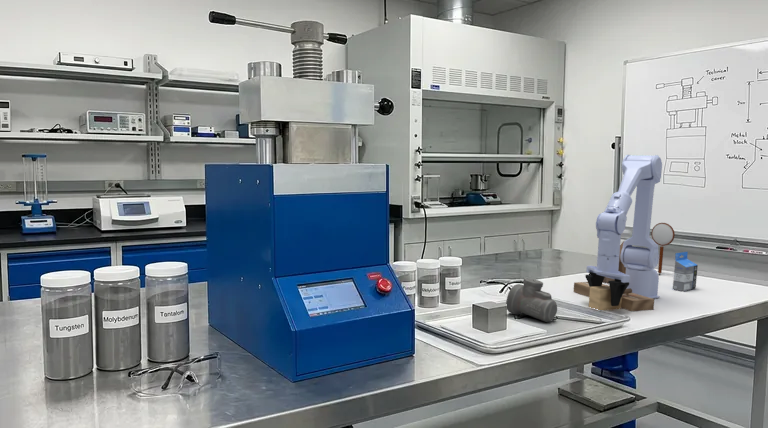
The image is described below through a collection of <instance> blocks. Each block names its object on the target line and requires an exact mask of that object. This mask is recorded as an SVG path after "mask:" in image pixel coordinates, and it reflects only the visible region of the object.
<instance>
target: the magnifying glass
mask: <svg viewBox="0 0 768 428" xmlns="http://www.w3.org/2000/svg"><path fill="white" fill-rule="evenodd" d="M650 234H651V237H652V238H651V239H652V240H653V241H654V242H655V243H657V245H658V246H659V261H658V267H657V268H658V270H657V273H658V275H659V274H662V271H663V269H662V268H663V262H664V261H663V259H664V246H665V247H666V246H668V245H670V244H671V243H673V241H674V239H675V235H676V234H675V230H674V228H673V227H672V226H671V225H670V224H669V223H667V222H659V223H657V224H655V225H654V226H653V227H652V230H651V232H650Z"/></svg>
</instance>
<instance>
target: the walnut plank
mask: <svg viewBox="0 0 768 428" xmlns="http://www.w3.org/2000/svg"><path fill="white" fill-rule="evenodd" d="M602 286H609V284H606V283H602ZM573 292H574V293H575V294H579V295H581V296H584V297H588V298H589V295H590V286H589V283H588V281H581V282H580V281H579V282H577V281H575V282H574V283H573ZM654 308H655V298H649V297H645V296H642V295H639V294H635V293H629V295H626V294H623V295H622V303H621V309H623V310H626V311H627V310H628V311H629V312H638V311H640V312H641V311H649V310H650V311H651V310H654Z"/></svg>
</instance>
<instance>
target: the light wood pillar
mask: <svg viewBox="0 0 768 428" xmlns="http://www.w3.org/2000/svg"><path fill="white" fill-rule="evenodd" d="M629 293H632V289H631V288H628V289H626V290H625V291H624V293H623V294H626V295H629ZM621 303H622V297H621V300H620V303H619V306H611V291H610V286H609V285H608V286H595V287H590V295H589V297H588V308H589V307H591V308H590V309H592V308H595V309H598V310H603V311H611V310H612V311H614V310H621V309H622V308H621ZM595 309H594V310H595ZM598 310H597V311H598Z"/></svg>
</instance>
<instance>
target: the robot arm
mask: <svg viewBox="0 0 768 428" xmlns="http://www.w3.org/2000/svg"><path fill="white" fill-rule="evenodd" d="M621 169H622V175H623V176H622V180H621V181H620V185H619V187H618V191H616V192H614V193H612V195H611V197H610V198H609V201H608V203H607V204H606V207H605V209H604V211H602V212H601V213H599V214H598V215H597V217H596V220H595V228H596V236H597V239H598V243H597V245H598V246H597V257H596V258H597V259H596V266H594V265H586V273H587V274H584V275H585V276H584V277H585V279H586V280H587V281H586V282H588V283H589V286H590V287H595V286H602V284H604V282H603V280H604V278H605V277H607V278H611V279H615V281H608V283H607V284H608V286H610V291H611V306H619V303H620V300H621V297H622V295H623V293H624V291H625V290H626V289H628V288H631V289H632V293H635V294H639V295H642V296H645V297H649V298H652V299H657V298H658V299H659V298H660V296H659V295H658V294H659V292H658V291H659V280H660V279H659V278H660V277H659V276H660V275H659V273H658V270H656V269H655V268H656V267H657V266H658V265H659V254H660V252H659V245H658V244H657V243H655V242H654V240H653V239H652V238H651V237H650V234H651V225H652V224H651V223H652V213H653V203H654V195H655V193H654V192H655V187H656V186H655V185H656V184H659V183H660V182H661V178H662V171H663V162H662V159H661V157H660V155H658V154H655V155H643V154H642V155H638V154H636V155H635V154H633V155H631V154H626V155H624V157H623V159H622V162H621ZM635 189H636V193H635V203H634V214H633V221H632V222H633V224H632V234H631V235H632V236H631V237H628V238H627V239H625V240H623V241H624V243H623V242H622V243H623V248H622V250H621V255H620V245H621V240H622V234H623V233H624V231H625V229H626V226H627V225H626V224H627V220H628V217H627V214H628V212H629V210H630V209H631V205H632V204H633V199H632V197H631V196H632V194H633V193H634V191H635ZM619 255H620V258H621V262H622V264H624V267H626V274H624V273H622V272H620V271H618V269H619Z"/></svg>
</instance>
